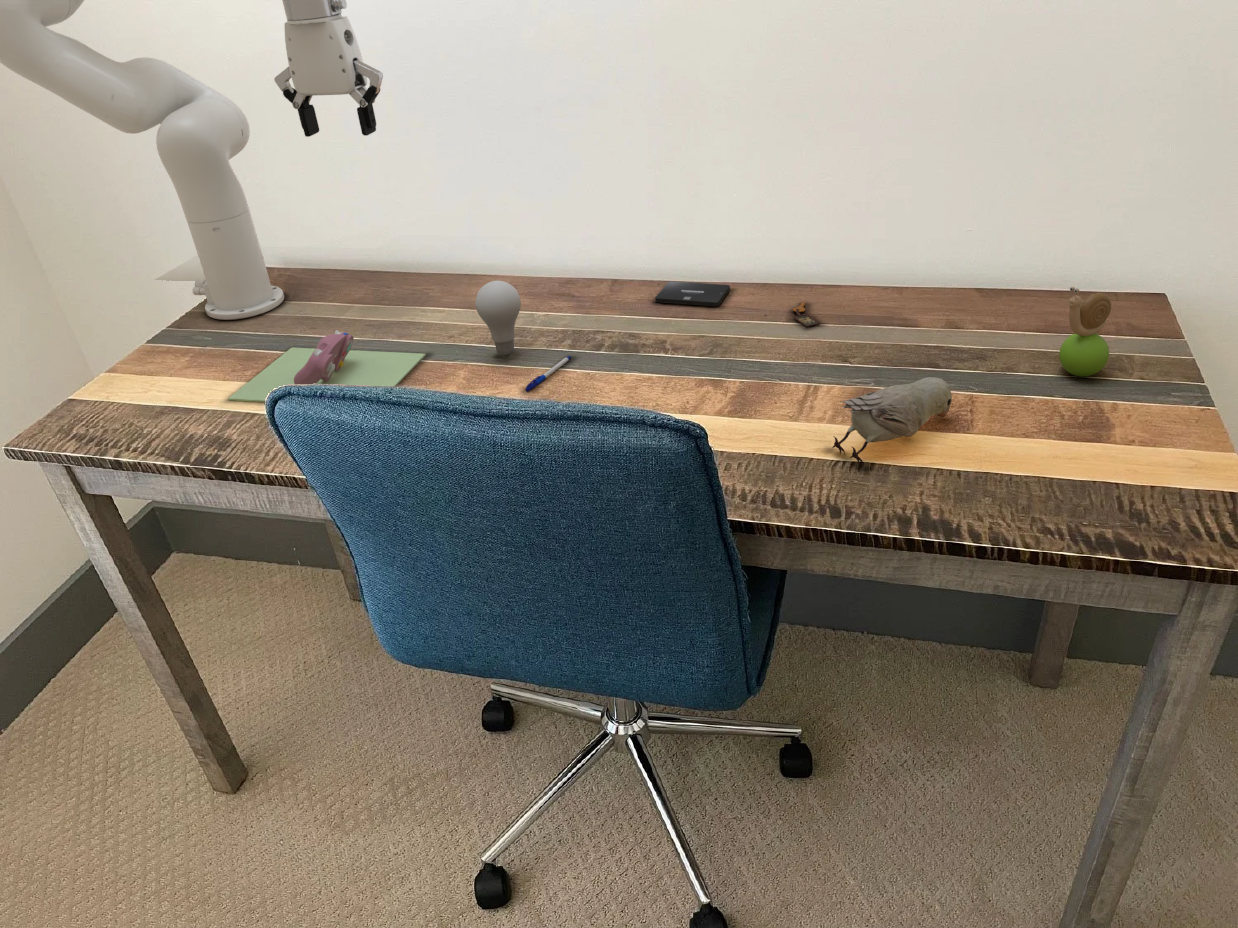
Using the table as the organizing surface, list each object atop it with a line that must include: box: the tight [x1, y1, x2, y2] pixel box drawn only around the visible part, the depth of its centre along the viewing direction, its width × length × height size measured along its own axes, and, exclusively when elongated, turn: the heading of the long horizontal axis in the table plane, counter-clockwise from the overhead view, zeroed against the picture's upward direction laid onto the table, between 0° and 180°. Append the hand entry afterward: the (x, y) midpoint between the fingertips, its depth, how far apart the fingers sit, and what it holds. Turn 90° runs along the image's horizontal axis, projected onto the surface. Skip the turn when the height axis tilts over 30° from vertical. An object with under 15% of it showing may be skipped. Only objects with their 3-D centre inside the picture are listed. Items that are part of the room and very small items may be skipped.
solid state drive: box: [654, 280, 731, 307], centre depth 148 cm, size 7×10×1 cm
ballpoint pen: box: [524, 355, 572, 393], centre depth 129 cm, size 10×1×1 cm, turn 151°
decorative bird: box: [831, 376, 953, 466], centre depth 106 cm, size 5×16×8 cm, turn 122°
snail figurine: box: [1058, 286, 1112, 378], centre depth 114 cm, size 5×6×12 cm
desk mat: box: [228, 347, 427, 403], centre depth 134 cm, size 22×16×1 cm
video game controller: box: [294, 329, 354, 384], centre depth 133 cm, size 10×5×7 cm, turn 168°
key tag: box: [792, 301, 821, 328], centre depth 138 cm, size 8×3×1 cm, turn 7°
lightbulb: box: [475, 280, 522, 358], centre depth 133 cm, size 6×6×11 cm
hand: (340, 134), depth 145 cm, fingers open, 9 cm apart
